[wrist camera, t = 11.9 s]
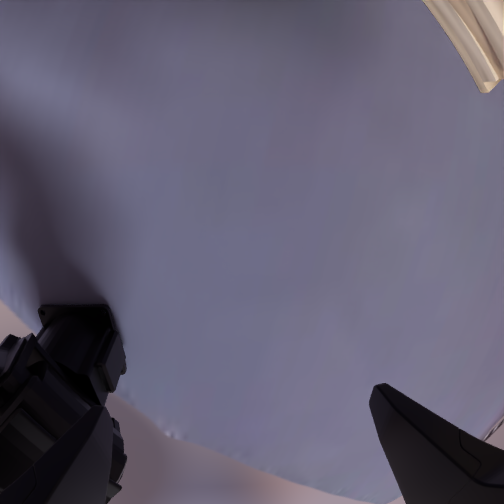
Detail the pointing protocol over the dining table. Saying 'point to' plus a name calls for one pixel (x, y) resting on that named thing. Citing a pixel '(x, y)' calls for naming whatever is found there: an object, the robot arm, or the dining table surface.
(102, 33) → the dining table surface
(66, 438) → the robot arm
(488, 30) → the offcut rack
